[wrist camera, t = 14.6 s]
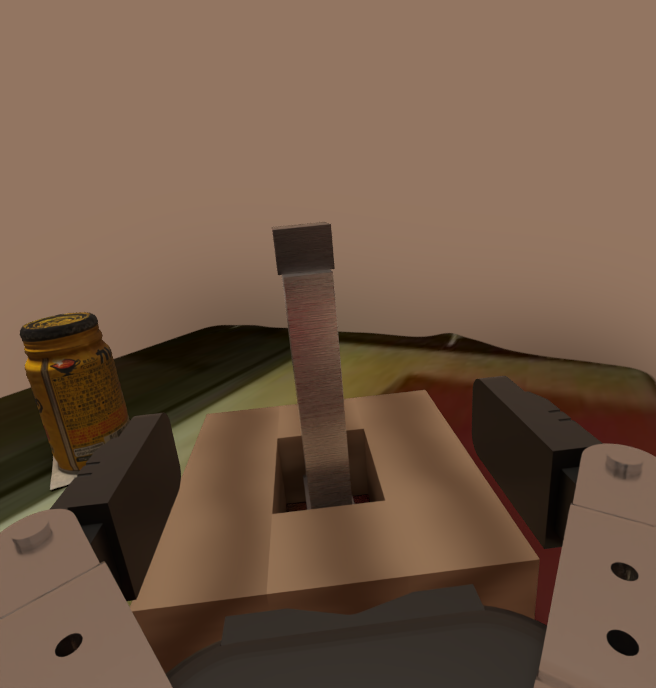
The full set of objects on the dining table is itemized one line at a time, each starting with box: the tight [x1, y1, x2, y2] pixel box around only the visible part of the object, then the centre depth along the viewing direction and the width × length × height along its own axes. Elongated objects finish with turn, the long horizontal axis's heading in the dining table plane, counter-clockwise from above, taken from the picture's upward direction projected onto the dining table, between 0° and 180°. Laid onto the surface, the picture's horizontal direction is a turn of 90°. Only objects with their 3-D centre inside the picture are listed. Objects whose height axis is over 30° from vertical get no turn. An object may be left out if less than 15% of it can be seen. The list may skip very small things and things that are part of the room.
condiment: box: [20, 312, 130, 490], centre depth 36 cm, size 7×8×12 cm
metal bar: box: [272, 222, 354, 510], centre depth 23 cm, size 3×4×18 cm, turn 8°
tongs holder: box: [130, 390, 539, 674], centre depth 25 cm, size 16×16×5 cm
